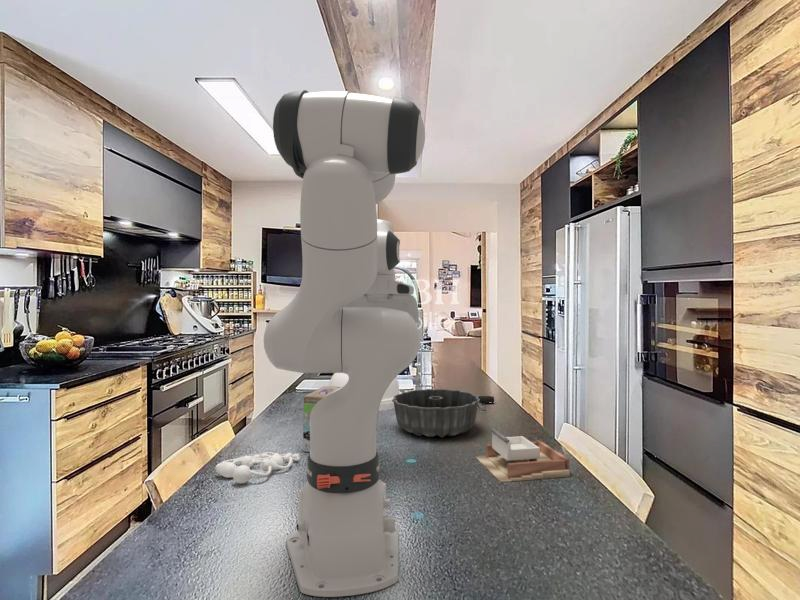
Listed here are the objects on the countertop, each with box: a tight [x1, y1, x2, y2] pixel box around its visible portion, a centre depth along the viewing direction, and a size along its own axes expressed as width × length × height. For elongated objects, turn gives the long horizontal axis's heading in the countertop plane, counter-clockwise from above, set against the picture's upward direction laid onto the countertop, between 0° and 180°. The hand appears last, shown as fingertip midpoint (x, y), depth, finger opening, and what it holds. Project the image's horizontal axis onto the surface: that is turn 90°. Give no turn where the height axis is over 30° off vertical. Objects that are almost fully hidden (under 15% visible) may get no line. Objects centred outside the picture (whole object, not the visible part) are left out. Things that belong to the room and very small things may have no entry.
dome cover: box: [328, 373, 402, 413], centre depth 177 cm, size 32×30×14 cm
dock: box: [475, 439, 571, 483], centre depth 112 cm, size 16×17×4 cm
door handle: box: [477, 395, 495, 412], centre depth 170 cm, size 3×20×16 cm
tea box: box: [302, 385, 342, 453], centre depth 128 cm, size 15×10×15 cm, turn 168°
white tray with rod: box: [489, 427, 540, 464], centre depth 111 cm, size 9×8×6 cm
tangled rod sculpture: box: [214, 451, 300, 484], centre depth 110 cm, size 19×14×4 cm
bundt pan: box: [392, 388, 480, 438], centre depth 142 cm, size 26×26×10 cm
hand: (377, 343), depth 115 cm, fingers closed
